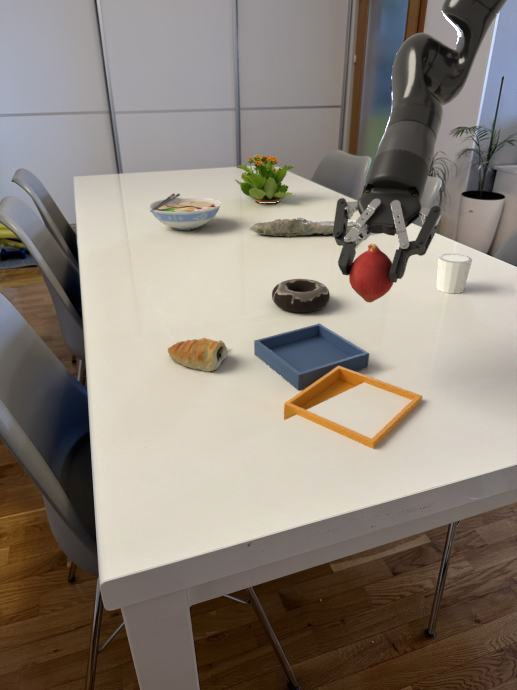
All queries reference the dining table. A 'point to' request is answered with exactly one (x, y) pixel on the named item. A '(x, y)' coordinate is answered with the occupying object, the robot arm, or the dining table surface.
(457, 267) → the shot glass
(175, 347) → the pastry
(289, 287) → the donut
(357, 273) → the onion
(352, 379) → the amber tray
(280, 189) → the potted flower
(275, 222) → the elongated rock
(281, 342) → the blue tray
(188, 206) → the ramen bowl
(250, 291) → the dining table surface
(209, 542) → the dining table surface
